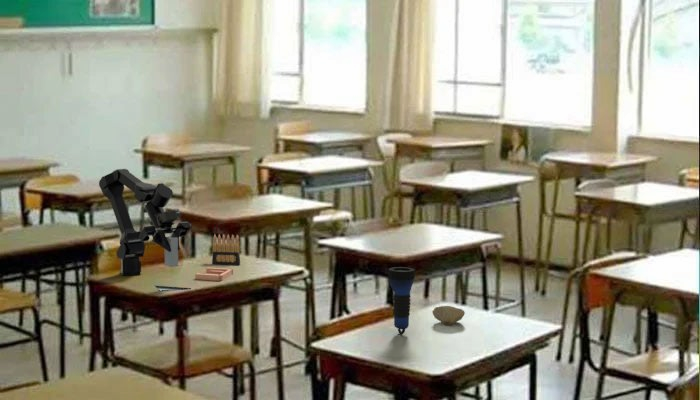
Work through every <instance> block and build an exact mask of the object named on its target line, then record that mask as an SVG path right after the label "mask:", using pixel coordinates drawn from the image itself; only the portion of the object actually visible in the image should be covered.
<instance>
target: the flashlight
mask: <svg viewBox="0 0 700 400" xmlns="http://www.w3.org/2000/svg"><path fill="white" fill-rule="evenodd" d="M415 274H416V269H415V268H412V267H406V266H405V267H403V266H397V267H396V266H394V267H390V268H388V277H387V278H388V280H389V285H390V288H391V290H392V291H393V293H394V294H393V295H392V296H393V298H392V300H393V303H392V305H393V306H392V307H393V309H392V311H393V312H392V313H393V323H394V328H396V329H397V332H398V333H399V334H400V335H403V334H405V333H406V329H408V328H409V325H410V324H409V323H410V311H411V297H412V296H411V290H412V287H413V284H414V281H415V277H416V275H415Z"/></svg>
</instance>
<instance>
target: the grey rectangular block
mask: <svg viewBox="0 0 700 400" xmlns="http://www.w3.org/2000/svg"><path fill="white" fill-rule="evenodd" d="M165 237H166V239H167V241H168V243H169V245H170V247H171V252H169V251H167V250H166V249H164V266H167V267H170V268H174V267H178V266H179V251H178V238H177V237H173V236H169V235H168V236H165Z"/></svg>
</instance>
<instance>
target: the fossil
mask: <svg viewBox="0 0 700 400" xmlns="http://www.w3.org/2000/svg"><path fill="white" fill-rule="evenodd" d="M465 313H466V312H465V310H464V309H462V308H457V307H454V306H452V305H451V306H450V305H441V306H436V307H434V309H432V315H433V316H434V319H436V320H438V321H439V322H440V323H441V324H442V326H452V325H454V324H455V323H457V322H459V321H461V320H462V319H463V317H464V316H465Z"/></svg>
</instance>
